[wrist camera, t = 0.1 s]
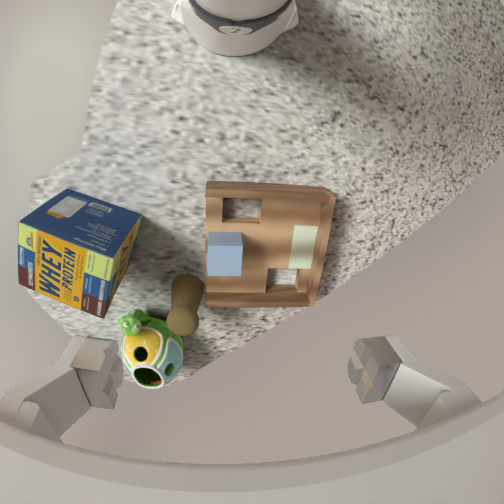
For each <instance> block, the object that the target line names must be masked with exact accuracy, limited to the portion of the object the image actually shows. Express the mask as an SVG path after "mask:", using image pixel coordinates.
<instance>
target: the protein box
mask: <svg viewBox="0 0 504 504" xmlns="http://www.w3.org/2000/svg"><path fill="white" fill-rule="evenodd" d="M141 218H142V215H141V214H138V213H136V212H133V211H130V210H127V209H124V208H121V207H118V206H115V205H112V204H109V203H107V202H104V201H101V200H98V199H95V198H92V197H90V196H87V195H84V194H81V193H78V192H75V191H73V190H70V189H66V190H64V191H62V192H61V193H59V194H58V195H56V196H55V197H53V198H52V199H50V200H49V201H47V202H46V203H44V204H43V205H41V206H40V207H38V208H37V209H36V210H34V211H33V212H31V213H30V214H29V215H27V216H26V217H25V218H23V219H22V220H20V221H19V222H18V279H19V280H18V281H19V284H21V285H23V286H25V287H27V288H29V289H32V290H34V291H36V292H38V293H41V294H43V295H45V296H47V297H50V298H52V299H54V300H57V301H59V302H62V303H64V304H66V305H69V306H71V307H74V308H76V309H79V310H82V311H85V312H87V313H90V314H92V315H95V316H97V317H100V318H103V319H104V317H105V315H106V313H107V310H108V308H109V306H110V304H111V301H112V299H113V297H114V295H115V293H116V291H117V289H118V286H119V284H120V282H121V280H122V278H123V276H124V274H125V272H126V270H127V268H128V266H129V263H130V259H131V255H132V251H133V248H134V244H135V240H136V236H137V233H138V229H139V226H140V222H141Z"/></svg>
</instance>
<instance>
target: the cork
mask: <svg viewBox="0 0 504 504" xmlns="http://www.w3.org/2000/svg"><path fill="white" fill-rule="evenodd" d="M203 290H204V287H203V283H202V282H201V281H200V279H198V278H197V277H195V276H193V275H189V274H184V275H180V276H178V277H176V278H175V279H174V280H173V282H172V309H171V310H170V311H169V313H168V315H167V325H168V327H169V329H170V330H171V331H172V332H173V333H175V334H177V335H180V336H188V335H190V334H192V333H194V332H195V331H196V329H197V328H198V326H199V317H198V314H197V311H198V308H199V305H200V301H201V298H202V295H203Z"/></svg>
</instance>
